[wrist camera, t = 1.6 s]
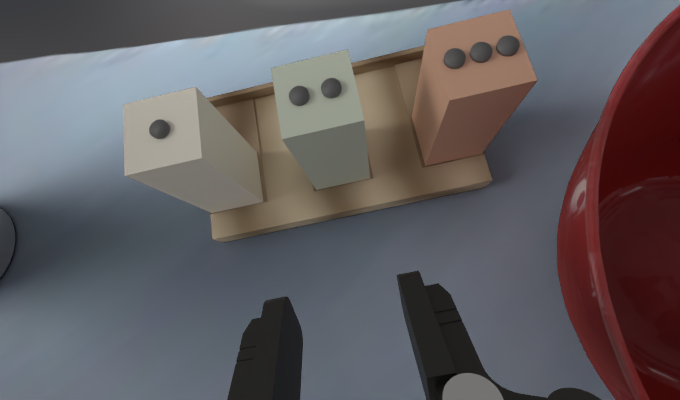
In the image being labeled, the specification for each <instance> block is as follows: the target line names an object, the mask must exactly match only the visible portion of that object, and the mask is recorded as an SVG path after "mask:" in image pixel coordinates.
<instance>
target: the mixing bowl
mask: <svg viewBox="0 0 680 400" xmlns="http://www.w3.org/2000/svg"><path fill="white" fill-rule="evenodd" d="M557 267H558V275H559V281H560V285H561V290H562V294H563V298H564V302H565V306H566V309H567V312H568V315H569V317H570V320H571V322H572V324H573V327H574V329H575V331H576V333H577V335H578V337H579V339H580V342H581V344H582V346H583V348H584V350H585V352H586V354H587V356H588V358H589V360H590V361H591V363H592V365H593V366H594V368H595V370H596V372H597V373H598V375H599V376H600V378H601V379H602V381H603V382H604V384H605V385H606V387H607V388H608V389H609V391H610V392H611V394H612V395H613V397H614V398H615V399H616V400H680V5H679V6H678V7H677V8H676V9H675V10H673V11H672V12H671V13H670V14H669V15H668V16H667V17H666V18H665V19H664V20H663V21H662V22H661V23H660V24H659V25H658V26H657V27H656V28H655V29H654V30H653V31H652V33H651V34H650V35H649V36H648V37H647V39H646V40H645V41H644V42H643V43H642V44H641V46H640V47H639V48H638V49H637V51H636V52H635V53H634V54H633V56H632V57H631V59H630V60H629V62H628V64H627V65H626V67H625V68H624V70H623V71H622V73H621V75H620V76H619V78H618V80H617V82H616V84H615V86H614V88H613V90H612V91H611V94H610V96H609V98H608V101H607V103H606V105H605V108H604V110H603V112H602V114H601V117H600V120H599V122H598V124H597V125H596V127H595V129H594V131H593V132H592V134H591V136H590V138H589V140H588V142H587V144H586V146H585V148H584V150H583V152H582V154H581V156H580V158H579V160H578V162H577V165H576V167H575V169H574V171H573V174H572V176H571V179H570V181H569V184H568V187H567V191H566V194H565V198H564V202H563V206H562V210H561V214H560V220H559V225H558V234H557Z"/></svg>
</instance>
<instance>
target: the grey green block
mask: <svg viewBox="0 0 680 400" xmlns="http://www.w3.org/2000/svg"><path fill="white" fill-rule="evenodd" d="M271 73H272V79H273V86H274V92H275V99H276V105H277V111H278V118H279V124H280V131H281V137H282V140H283V142H284V143H285V145H286V146H287V148H288V149H289V151H290V152H291V153H292V155H293V156H294V158H295V159H296V161H297V162H298V164H299V165H300V167H301V168H302V170H303V171H304V173H305V174H306V176H307V177H308V179H309V180H310V182H311V183H312V184H313V186H314V187H315V189H316V190H319V189H324V188H328V187H333V186H337V185H342V184H347V183H351V182H356V181H360V180H365V179H370V171H369V161H368V152H367V142H366V132H365V122H364V117H363V113H362V108H361V104H360V100H359V95H358V91H357V87H356V82H355V78H354V74H353V69H352V65H351V61H350V56H349V52H348V49H347V50H343V51H339V52H335V53H331V54H327V55H323V56H319V57H315V58H311V59H306V60H302V61H298V62H294V63H290V64H286V65H282V66H278V67H274V68H271Z"/></svg>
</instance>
